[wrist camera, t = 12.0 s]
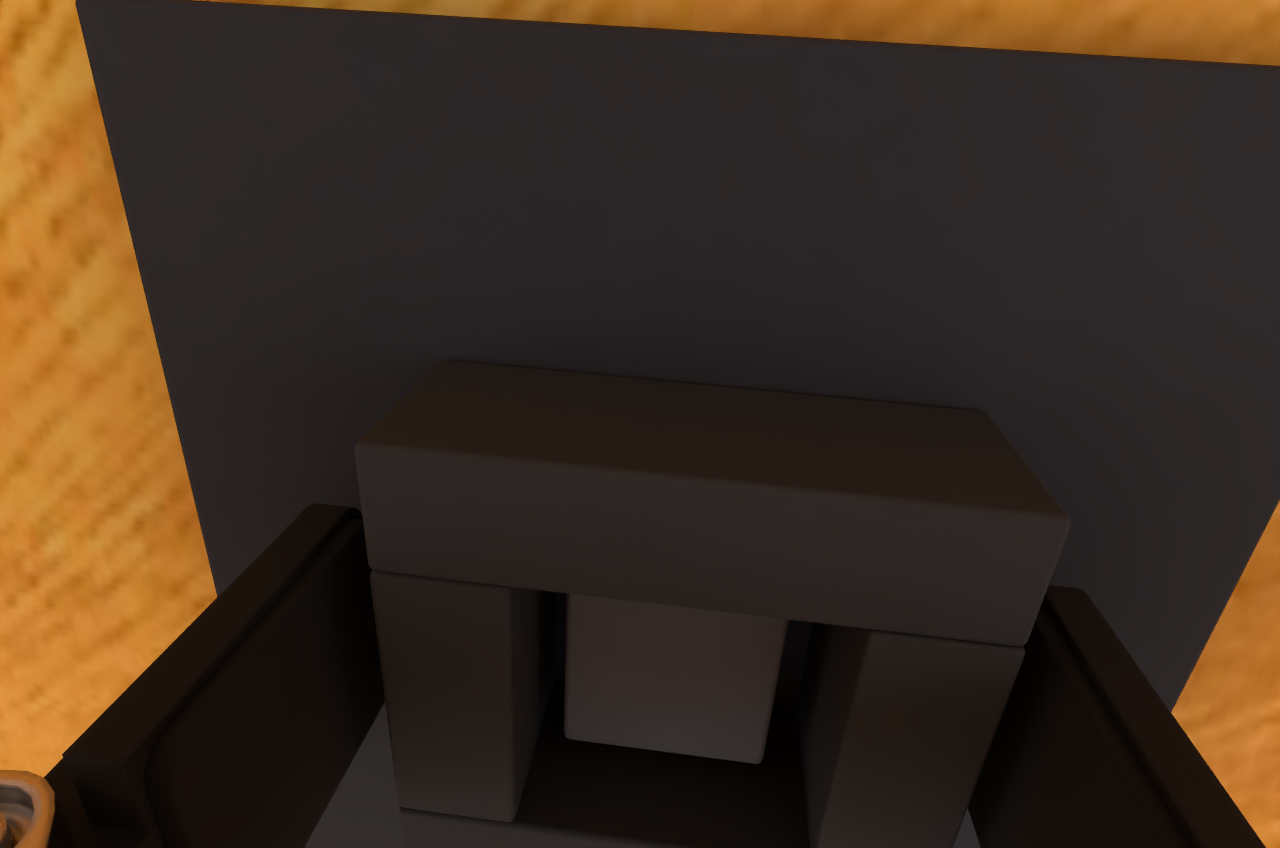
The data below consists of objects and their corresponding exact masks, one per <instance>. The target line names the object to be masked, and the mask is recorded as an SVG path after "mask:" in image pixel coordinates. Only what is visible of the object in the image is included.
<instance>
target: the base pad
mask: <svg viewBox="0 0 1280 848" xmlns="http://www.w3.org/2000/svg"><path fill="white" fill-rule="evenodd" d="M76 8H77V12H78V16H79V20H80V24H81V28H82V33H83V37H84V41H85V45H86V49H87V54H88V58H89V62H90V66H91V70H92V74H93V79H94V83H95V87H96V91H97V95H98V99H99V104H100V108H101V112H102V116H103V120H104V125H105V129H106V133H107V137H108V141H109V145H110V150H111V154H112V158H113V162H114V166H115V170H116V175H117V179H118V183H119V187H120V191H121V196H122V200H123V204H124V208H125V212H126V216H127V221H128V225H129V229H130V233H131V237H132V241H133V246H134V250H135V254H136V258H137V262H138V267H139V271H140V275H141V279H142V283H143V287H144V292H145V296H146V300H147V304H148V308H149V312H150V317H151V321H152V325H153V329H154V333H155V338H156V342H157V346H158V350H159V354H160V358H161V363H162V367H163V371H164V375H165V379H166V383H167V388H168V392H169V396H170V400H171V404H172V409H173V413H174V417H175V421H176V425H177V429H178V434H179V438H180V442H181V446H182V450H183V454H184V459H185V463H186V467H187V471H188V475H189V480H190V484H191V488H192V492H193V496H194V500H195V505H196V509H197V513H198V517H199V521H200V526H201V530H202V534H203V538H204V542H205V546H206V551H207V555H208V559H209V563H210V567H211V571H212V576H213V580H214V584H215V588H216V592H217V597H218V596H219V595H220V594H221V593H222V592H223V591H224V590H225V589H226V588H227V587H228V586H229V585H230V584H231V583H232V582H233V581H234V580H235V579H236V578H237V577H238V576H239V575H240V574H241V573H242V572H243V571H244V570H245V569H246V568H247V567H248V566H249V565H250V564H251V563H252V562H253V561H254V560H255V559H256V558H257V557H258V556H259V555H260V554H261V553H262V552H263V551H264V550H265V549H266V548H267V547H268V546H269V545H270V544H271V543H272V542H273V541H274V540H275V539H276V538H277V537H278V536H279V535H280V534H281V533H282V532H283V531H284V530H285V529H286V528H287V527H288V526H289V525H290V524H291V523H292V522H293V521H294V520H295V518H296V517H297V516H298V515H299V514H300V513H301V512H302V511H303V510H304V509H305V508H307V507H308V506H309V505H311V504H315V503H319V504H328V505H337V506H346V507H355V508H357V509H359V510H360V512H361V514H362V508H361V500H360V492H359V484H358V476H357V468H356V460H355V447H356V444H357V442H358V441H359V440H360V439H361V438H362V437H363V436H364V435H365V434H366V433H367V432H368V431H369V430H370V429H371V428H372V427H373V426H374V425H375V424H376V423H377V422H378V421H379V420H380V419H381V418H382V417H383V416H384V415H385V414H386V413H387V412H388V411H390V410H391V409H392V408H393V407H394V406H395V405H396V404H397V403H398V402H399V401H400V400H401V399H402V398H403V397H404V396H405V395H406V394H407V393H408V392H409V391H410V390H411V389H412V388H413V387H414V386H415V385H416V384H417V383H418V382H419V381H420V380H421V379H422V378H423V377H424V376H425V375H426V374H428V373H429V372H430V371H431V370H432V369H433V368H434V367H435V366H436V365H437V364H438V363H439V362H440V361H444V360H449V361H459V362H470V363H480V364H491V365H501V366H512V367H522V368H533V369H543V370H554V371H564V372H574V373H585V374H595V375H606V376H616V377H627V378H637V379H648V380H658V381H669V382H679V383H690V384H700V385H711V386H721V387H732V388H742V389H753V390H763V391H774V392H784V393H795V394H805V395H816V396H826V397H837V398H847V399H858V400H868V401H879V402H889V403H900V404H910V405H921V406H931V407H942V408H952V409H963V410H973V411H983V412H985V413H987V414H989V415H990V417H991V418H992V419H993V420H994V422H995V423H996V424H997V425H998V427H999V428H1000V429H1001V431H1002V432H1003V433H1004V434H1005V436H1006V437H1007V438H1008V439H1009V441H1010V442H1011V443H1012V445H1013V446H1014V447H1015V448H1016V450H1017V451H1018V452H1019V453H1020V455H1021V456H1022V457H1023V459H1024V460H1025V461H1026V462H1027V464H1028V465H1029V466H1030V467H1031V469H1032V470H1033V471H1034V473H1035V474H1036V475H1037V476H1038V478H1039V479H1040V480H1041V481H1042V483H1043V484H1044V485H1045V486H1046V488H1047V489H1048V490H1049V492H1050V493H1051V494H1052V495H1053V497H1054V498H1055V499H1056V500H1057V502H1058V503H1059V504H1060V506H1061V507H1062V508H1063V509H1064V511H1065V512H1066V513H1067V514H1068V516H1069V518H1070V529H1069V532H1068V534H1067V537H1066V540H1065V542H1064V545H1063V548H1062V550H1061V553H1060V556H1059V558H1058V561H1057V564H1056V566H1055V569H1054V572H1053V575H1052V577H1051V580H1050V583H1049V585H1054V586H1063V587H1072V588H1079V589H1081V590H1084V591H1085V593H1086V594H1087V595H1088V596H1089V597H1090V598H1091V600H1092V601H1093V603H1094V604H1095V605H1096V607H1097V608H1098V610H1099V611H1100V613H1101V614H1102V615H1103V617H1104V618H1105V620H1106V621H1107V623H1108V624H1109V625H1110V627H1111V628H1112V630H1113V631H1114V632H1115V634H1116V635H1117V637H1118V638H1119V640H1120V641H1121V642H1122V644H1123V645H1124V647H1125V648H1126V650H1127V651H1128V652H1129V654H1130V655H1131V657H1132V658H1133V659H1134V661H1135V662H1136V664H1137V665H1138V667H1139V668H1140V669H1141V671H1142V672H1143V674H1144V675H1145V677H1146V678H1147V679H1148V681H1149V682H1150V684H1151V685H1152V687H1153V688H1154V689H1155V691H1156V692H1157V694H1158V695H1159V696H1160V698H1161V699H1162V701H1163V702H1164V704H1165V705H1166V706H1167V708H1168V709H1169V711H1170V712H1172V710H1173V708H1174V706H1175V704H1176V702H1177V700H1178V698H1179V696H1180V694H1181V692H1182V690H1183V688H1184V686H1185V684H1186V682H1187V680H1188V678H1189V676H1190V674H1191V672H1192V671H1193V669H1194V667H1195V665H1196V663H1197V661H1198V659H1199V657H1200V655H1201V653H1202V651H1203V649H1204V647H1205V645H1206V643H1207V641H1208V639H1209V637H1210V635H1211V633H1212V631H1213V629H1214V627H1215V626H1216V624H1217V622H1218V620H1219V618H1220V616H1221V614H1222V612H1223V610H1224V608H1225V606H1226V604H1227V602H1228V600H1229V598H1230V596H1231V594H1232V592H1233V590H1234V588H1235V586H1236V584H1237V582H1238V580H1239V579H1240V577H1241V575H1242V573H1243V571H1244V569H1245V567H1246V565H1247V563H1248V561H1249V559H1250V557H1251V555H1252V553H1253V551H1254V549H1255V547H1256V545H1257V543H1258V541H1259V539H1260V537H1261V535H1262V533H1263V532H1264V530H1265V528H1266V526H1267V524H1268V522H1269V520H1270V518H1271V516H1272V514H1273V512H1274V510H1275V508H1276V506H1277V504H1278V502H1279V500H1280V66H1271V65H1254V64H1238V63H1221V62H1204V61H1188V60H1171V59H1155V58H1138V57H1122V56H1105V55H1088V54H1072V53H1055V52H1039V51H1022V50H1005V49H989V48H972V47H956V46H939V45H923V44H906V43H889V42H873V41H856V40H840V39H823V38H807V37H790V36H773V35H757V34H740V33H724V32H707V31H691V30H674V29H657V28H641V27H624V26H608V25H591V24H574V23H558V22H541V21H525V20H508V19H492V18H475V17H458V16H442V15H425V14H409V13H392V12H376V11H359V10H342V9H326V8H309V7H293V6H276V5H259V4H243V3H226V2H210V1H193V0H76ZM813 623H814V622H806V621H798V620H789V619H781V618H772V617H764V616H755V615H747V614H738V613H730V612H721V611H713V610H704V609H696V608H687V607H679V606H670V605H662V604H653V603H645V602H636V601H628V600H619V599H611V598H602V597H594V596H585V595H577V594H568V593H560V592H556V612H555V682H554V683H555V684H562V685H565V689H564V734H565V737H566V738H568V739H572V740H579V741H587V742H594V743H602V744H609V745H617V746H625V747H632V748H640V749H647V750H655V751H662V752H670V753H678V754H685V755H693V756H700V757H708V758H715V759H723V760H730V761H738V762H746V763H753V764H758V763H761V761H762V759H763V757H764V752H765V747H766V741H767V736H768V731H769V725H770V720H771V715H772V711H775V712H783V713H791V714H795V710H796V705H797V700H798V696H799V691H800V686H801V681H802V676H803V671H804V666H805V662H806V657H807V652H808V647H809V642H810V637H811V632H812V628H813ZM399 807H400V805H399V804H398V800H397V792H396V784H395V776H394V768H393V760H392V752H391V744H390V736H389V728H388V720H387V712H386V704H385V703H384V705H383V706H382V708H381V710H380V712H379V714H378V715H377V717H376V719H375V721H374V723H373V724H372V726H371V728H370V730H369V732H368V734H367V735H366V737H365V739H364V741H363V743H362V744H361V746H360V748H359V750H358V752H357V753H356V755H355V757H354V759H353V761H352V763H351V764H350V766H349V768H348V770H347V772H346V773H345V775H344V777H343V779H342V781H341V782H340V784H339V786H338V788H337V790H336V792H335V793H334V795H333V797H332V799H331V801H330V802H329V804H328V806H327V808H326V810H325V811H324V813H323V815H322V817H321V819H320V821H319V822H318V824H317V826H316V828H315V830H314V831H313V833H312V835H311V837H310V839H309V840H308V842H307V844H306V846H305V848H403V840H402V832H401V824H400V816H399ZM953 848H981V847H980V844H979V841H978V838H977V835H976V832H975V829H974V826H973V823H972V820H971V817H970V814H969V810H968V808H967V810H966V813H965V816H964V818H963V821H962V824H961V826H960V829H959V832H958V834H957V837H956V840H955V842H954V845H953Z"/></svg>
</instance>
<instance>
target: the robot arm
mask: <svg viewBox="0 0 1280 848" xmlns="http://www.w3.org/2000/svg"><path fill="white" fill-rule="evenodd" d="M372 570H373V569H371V568H370V566H369V564H368V556H367V548H366V540H365V532H364V524H363V516H362V514H361V512H360V510H359V509H357V508H355V507H346V506H337V505H328V504H319V503H315V504H311V505H309V506H308V507H307V508H305V509H304V510H303V511H302V512H301V513H300V514H299V515H298V516H297V517H296V518H295V520H294V521H293V522H292V523H291V524H290V525H289V526H288V527H287V528H286V529H285V530H284V531H283V532H282V533H281V534H280V535H279V536H278V537H277V538H276V539H275V540H274V541H273V542H272V543H271V544H270V545H269V546H268V547H267V548H266V549H265V550H264V551H263V552H262V553H261V554H260V555H259V556H258V557H257V558H256V559H255V560H254V561H253V562H252V563H251V564H250V565H249V566H248V567H247V568H246V569H245V570H244V571H243V572H242V573H241V574H240V575H239V576H238V577H237V578H236V579H235V580H234V581H233V582H232V583H231V584H230V585H229V586H228V587H227V588H226V589H225V590H224V591H223V592H222V593H221V594H220V595H219V596H218V597H217V598H216V599H215V600H214V601H213V602H212V603H211V604H210V606H209V607H208V608H207V609H206V610H205V611H204V612H203V613H202V614H201V615H200V616H199V617H198V618H197V619H196V620H195V621H194V622H193V623H192V624H191V625H190V626H189V627H188V628H187V629H186V630H185V631H184V632H183V633H182V634H181V635H180V636H179V637H178V638H177V639H176V640H175V641H174V642H173V643H172V644H171V645H170V646H169V647H168V648H167V649H166V650H165V651H164V652H163V653H162V654H161V655H160V656H159V657H158V658H157V659H156V660H155V661H154V662H153V663H152V664H151V665H150V666H149V667H148V668H147V669H146V670H145V671H144V672H143V673H142V674H141V675H140V676H139V677H138V678H137V679H136V680H135V681H134V682H133V683H132V684H131V685H130V686H129V687H128V688H127V689H126V690H125V691H124V693H123V694H122V695H121V696H120V697H119V698H118V699H117V700H116V701H115V702H114V703H113V704H112V705H111V706H110V707H109V708H108V709H107V710H106V711H105V712H104V713H103V714H102V715H101V716H100V717H99V718H98V719H97V720H96V721H95V722H94V723H93V724H92V725H91V726H90V727H89V728H88V729H87V730H86V731H85V732H84V733H83V734H82V735H81V736H80V737H79V738H78V739H77V740H76V741H75V742H74V743H73V744H72V745H71V746H70V747H69V748H68V749H67V750H66V751H65V752H64V753H63V754H62V755H63V759H62V760H61V761H60V762H59V763H58V764H57V765H56V766H55V767H54V768H53V769H52V770H51V771H50V772H49V773H48V774H47V775H46V776H45V777H44V778H43V777H40V776H38V775H36V774H33V773H31V772H29V771H17V770H0V848H305V846H306V844H307V842H308V840H309V839H310V837H311V835H312V833H313V831H314V830H315V828H316V826H317V824H318V822H319V821H320V819H321V817H322V815H323V813H324V811H325V810H326V808H327V806H328V804H329V802H330V801H331V799H332V797H333V795H334V793H335V792H336V790H337V788H338V786H339V784H340V782H341V781H342V779H343V777H344V775H345V773H346V772H347V770H348V768H349V766H350V764H351V763H352V761H353V759H354V757H355V755H356V753H357V752H358V750H359V748H360V746H361V744H362V743H363V741H364V739H365V737H366V735H367V734H368V732H369V730H370V728H371V726H372V724H373V723H374V721H375V719H376V717H377V715H378V714H379V712H380V710H381V708H382V706H383V705H384V703H385V696H384V688H383V680H382V672H381V664H380V656H379V648H378V640H377V632H376V624H375V616H374V608H373V600H372V592H371V584H370V575H371V572H372ZM1023 647H1024V649H1025V655H1024V658H1023V661H1022V663H1021V666H1020V669H1019V671H1018V674H1017V677H1016V680H1015V682H1014V685H1013V688H1012V690H1011V693H1010V696H1009V698H1008V701H1007V704H1006V706H1005V709H1004V712H1003V714H1002V717H1001V720H1000V722H999V725H998V728H997V730H996V733H995V736H994V738H993V741H992V744H991V746H990V749H989V752H988V754H987V757H986V760H985V762H984V765H983V768H982V770H981V773H980V776H979V778H978V781H977V784H976V786H975V789H974V792H973V794H972V797H971V800H970V802H969V805H968V810H969V814H970V817H971V820H972V823H973V826H974V829H975V832H976V835H977V838H978V841H979V844H980V847H981V848H1266V847H1265V846H1264V844H1263V843H1262V841H1261V840H1260V839H1259V837H1258V836H1257V834H1256V833H1255V832H1254V830H1253V829H1252V827H1251V826H1250V824H1249V823H1248V822H1247V820H1246V819H1245V817H1244V816H1243V814H1242V813H1241V812H1240V810H1239V809H1238V807H1237V806H1236V805H1235V803H1234V802H1233V800H1232V799H1231V797H1230V796H1229V795H1228V793H1227V792H1226V790H1225V789H1224V787H1223V786H1222V785H1221V783H1220V782H1219V780H1218V779H1217V777H1216V776H1215V775H1214V773H1213V772H1212V770H1211V769H1210V768H1209V766H1208V765H1207V763H1206V762H1205V760H1204V759H1203V758H1202V756H1201V755H1200V753H1199V752H1198V750H1197V749H1196V748H1195V746H1194V745H1193V743H1192V742H1191V741H1190V739H1189V738H1188V736H1187V735H1186V733H1185V732H1184V731H1183V729H1182V728H1181V726H1180V725H1179V723H1178V722H1177V721H1176V719H1175V718H1174V716H1173V715H1172V714H1171V712H1170V711H1169V709H1168V708H1167V706H1166V705H1165V704H1164V702H1163V701H1162V699H1161V698H1160V696H1159V695H1158V694H1157V692H1156V691H1155V689H1154V688H1153V687H1152V685H1151V684H1150V682H1149V681H1148V679H1147V678H1146V677H1145V675H1144V674H1143V672H1142V671H1141V669H1140V668H1139V667H1138V665H1137V664H1136V662H1135V661H1134V659H1133V658H1132V657H1131V655H1130V654H1129V652H1128V651H1127V650H1126V648H1125V647H1124V645H1123V644H1122V642H1121V641H1120V640H1119V638H1118V637H1117V635H1116V634H1115V632H1114V631H1113V630H1112V628H1111V627H1110V625H1109V624H1108V623H1107V621H1106V620H1105V618H1104V617H1103V615H1102V614H1101V613H1100V611H1099V610H1098V608H1097V607H1096V605H1095V604H1094V603H1093V601H1092V600H1091V598H1090V597H1089V596H1088V595H1087V594H1086V593H1085V591H1084V590H1081V589H1079V588H1072V587H1063V586H1054V585H1048V588H1047V591H1046V593H1045V596H1044V599H1043V601H1042V604H1041V607H1040V609H1039V612H1038V615H1037V617H1036V620H1035V623H1034V625H1033V628H1032V631H1031V634H1030V636H1029V639H1028V642H1027V643H1026V644H1025V645H1023Z"/></svg>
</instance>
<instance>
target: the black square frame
mask: <svg viewBox="0 0 1280 848" xmlns="http://www.w3.org/2000/svg"><path fill="white" fill-rule="evenodd" d="M355 460H356V468H357V476H358V484H359V492H360V500H361V508H362V516H363V524H364V532H365V540H366V548H367V556H368V564H369V566H370V568H371V569H373V570H372V572H371V575H370V584H371V592H372V600H373V608H374V616H375V624H376V632H377V640H378V648H379V656H380V664H381V672H382V680H383V688H384V696H385V704H386V712H387V720H388V728H389V736H390V744H391V752H392V760H393V768H394V776H395V784H396V792H397V800H398V804H399V805H400V807H399V816H400V824H401V832H402V840H403V848H953V845H954V842H955V840H956V837H957V834H958V832H959V829H960V826H961V824H962V821H963V818H964V816H965V813H966V810H967V808H968V805H969V802H970V800H971V797H972V794H973V792H974V789H975V786H976V784H977V781H978V778H979V776H980V773H981V770H982V768H983V765H984V762H985V760H986V757H987V754H988V752H989V749H990V746H991V744H992V741H993V738H994V736H995V733H996V730H997V728H998V725H999V722H1000V720H1001V717H1002V714H1003V712H1004V709H1005V706H1006V704H1007V701H1008V698H1009V696H1010V693H1011V690H1012V688H1013V685H1014V682H1015V680H1016V677H1017V674H1018V671H1019V669H1020V666H1021V663H1022V661H1023V658H1024V655H1025V649H1024V647H1023V645H1025V644H1026V643H1027V642H1028V639H1029V636H1030V634H1031V631H1032V628H1033V625H1034V623H1035V620H1036V617H1037V615H1038V612H1039V609H1040V607H1041V604H1042V601H1043V599H1044V596H1045V593H1046V591H1047V588H1048V585H1049V583H1050V580H1051V577H1052V575H1053V572H1054V569H1055V566H1056V564H1057V561H1058V558H1059V556H1060V553H1061V550H1062V548H1063V545H1064V542H1065V540H1066V537H1067V534H1068V532H1069V529H1070V518H1069V516H1068V514H1067V513H1066V512H1065V511H1064V509H1063V508H1062V507H1061V506H1060V504H1059V503H1058V502H1057V500H1056V499H1055V498H1054V497H1053V495H1052V494H1051V493H1050V492H1049V490H1048V489H1047V488H1046V486H1045V485H1044V484H1043V483H1042V481H1041V480H1040V479H1039V478H1038V476H1037V475H1036V474H1035V473H1034V471H1033V470H1032V469H1031V467H1030V466H1029V465H1028V464H1027V462H1026V461H1025V460H1024V459H1023V457H1022V456H1021V455H1020V453H1019V452H1018V451H1017V450H1016V448H1015V447H1014V446H1013V445H1012V443H1011V442H1010V441H1009V439H1008V438H1007V437H1006V436H1005V434H1004V433H1003V432H1002V431H1001V429H1000V428H999V427H998V425H997V424H996V423H995V422H994V420H993V419H992V418H991V417H990V415H989V414H987V413H985V412H983V411H973V410H963V409H952V408H942V407H931V406H921V405H910V404H900V403H889V402H879V401H868V400H858V399H847V398H837V397H826V396H816V395H805V394H795V393H784V392H774V391H763V390H753V389H742V388H732V387H721V386H711V385H700V384H690V383H679V382H669V381H658V380H648V379H637V378H627V377H616V376H606V375H595V374H585V373H574V372H564V371H554V370H543V369H533V368H522V367H512V366H501V365H491V364H480V363H470V362H459V361H449V360H444V361H440V362H439V363H438V364H437V365H436V366H435V367H434V368H433V369H432V370H431V371H430V372H429V373H428V374H426V375H425V376H424V377H423V378H422V379H421V380H420V381H419V382H418V383H417V384H416V385H415V386H414V387H413V388H412V389H411V390H410V391H409V392H408V393H407V394H406V395H405V396H404V397H403V398H402V399H401V400H400V401H399V402H398V403H397V404H396V405H395V406H394V407H393V408H392V409H391V410H390V411H388V412H387V413H386V414H385V415H384V416H383V417H382V418H381V419H380V420H379V421H378V422H377V423H376V424H375V425H374V426H373V427H372V428H371V429H370V430H369V431H368V432H367V433H366V434H365V435H364V436H363V437H362V438H361V439H360V440H359V441H358V442H357V444H356V447H355ZM556 592H560V593H568V594H577V595H585V596H594V597H602V598H611V599H619V600H628V601H636V602H645V603H653V604H662V605H670V606H679V607H687V608H696V609H704V610H713V611H721V612H730V613H738V614H747V615H755V616H764V617H772V618H781V619H789V620H798V621H806V622H814V623H813V628H812V632H811V637H810V642H809V647H808V652H807V657H806V662H805V666H804V671H803V676H802V681H801V686H800V691H799V696H798V700H797V705H796V710H795V714H791V713H783V712H775V711H772V715H771V720H770V725H769V731H768V736H767V741H766V747H765V752H764V757H763V759H762V761H761V763H758V764H753V763H746V762H738V761H730V760H723V759H715V758H708V757H700V756H693V755H685V754H678V753H670V752H662V751H655V750H647V749H640V748H632V747H625V746H617V745H609V744H602V743H594V742H587V741H579V740H572V739H568V738H566V737H565V734H564V689H565V685H562V684H555V683H554V682H555V612H556Z"/></svg>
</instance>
